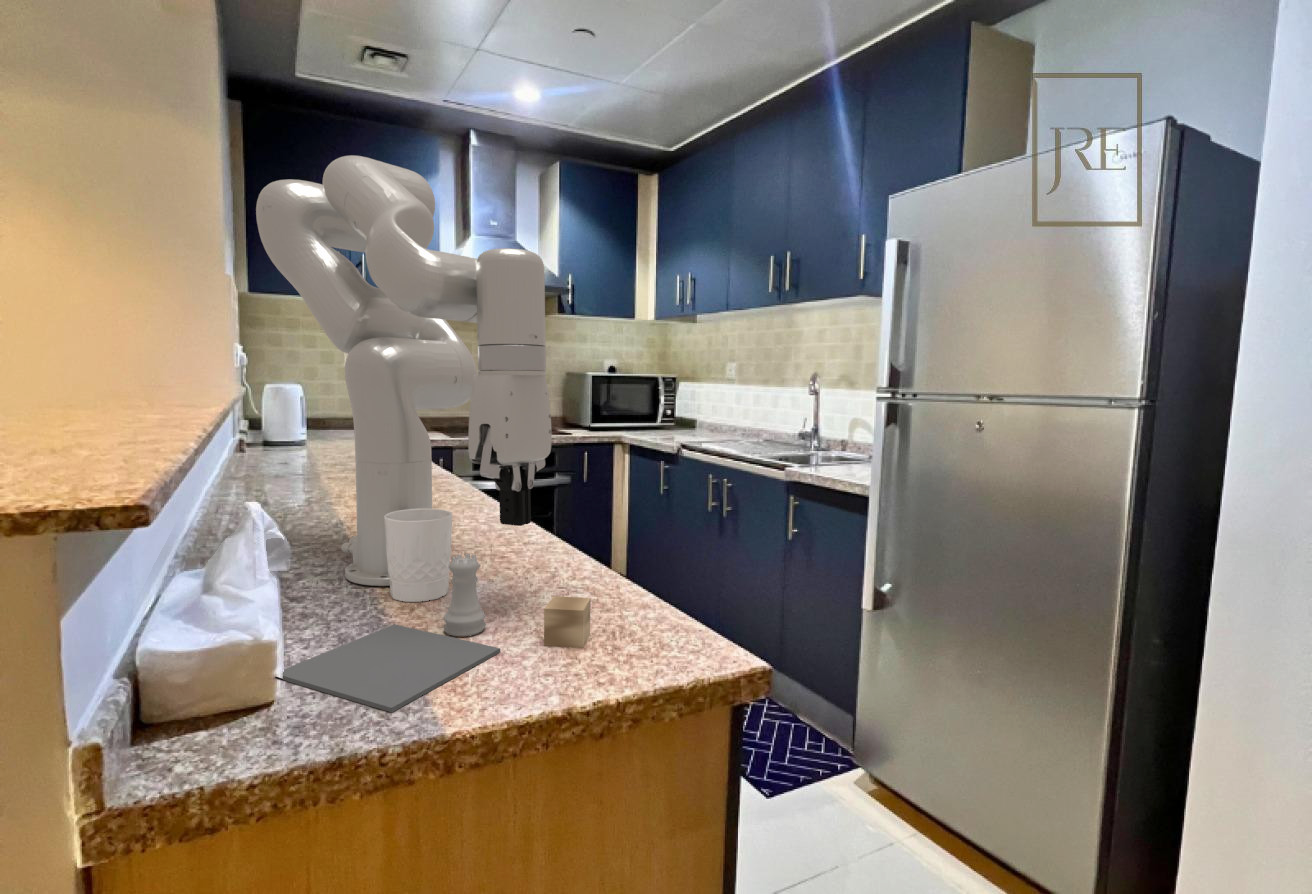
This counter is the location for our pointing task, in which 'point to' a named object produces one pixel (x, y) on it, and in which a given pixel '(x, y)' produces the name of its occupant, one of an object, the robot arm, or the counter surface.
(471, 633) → the rook chess piece
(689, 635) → the counter surface
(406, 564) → the white cup
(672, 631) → the counter surface
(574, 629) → the oak block
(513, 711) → the counter surface
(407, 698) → the mat
